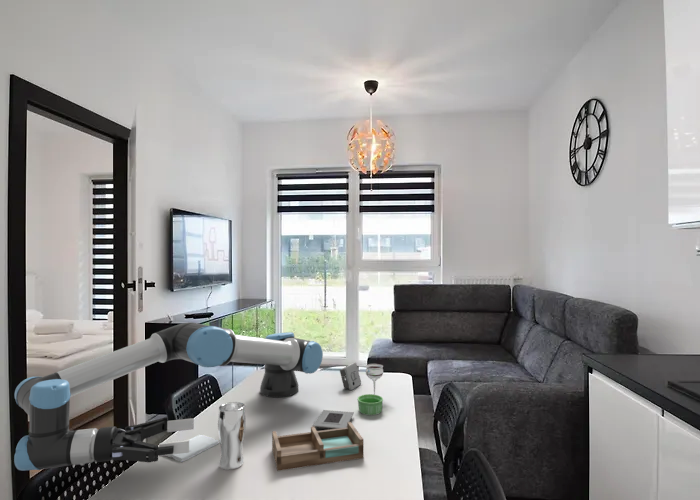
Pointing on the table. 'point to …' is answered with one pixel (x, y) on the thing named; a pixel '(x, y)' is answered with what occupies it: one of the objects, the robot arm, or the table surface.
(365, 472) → the table surface
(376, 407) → the ramekin
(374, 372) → the wineglass
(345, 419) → the electrical outlet
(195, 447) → the external hard drive
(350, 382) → the electrical switch
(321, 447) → the caddy
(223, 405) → the chrome pint tumbler
